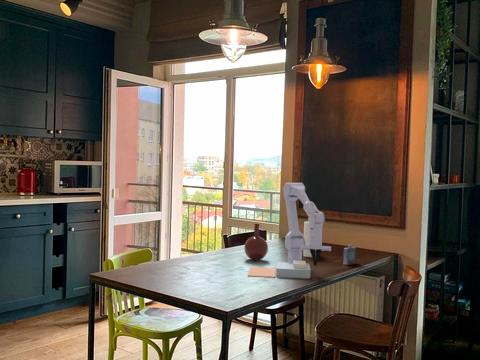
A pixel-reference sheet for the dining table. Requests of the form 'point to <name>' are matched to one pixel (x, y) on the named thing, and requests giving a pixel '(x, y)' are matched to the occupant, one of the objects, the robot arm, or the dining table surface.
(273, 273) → the mat
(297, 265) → the tile
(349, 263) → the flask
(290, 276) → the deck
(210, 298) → the dining table surface
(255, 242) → the round-bottom flask
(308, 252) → the white tall block
